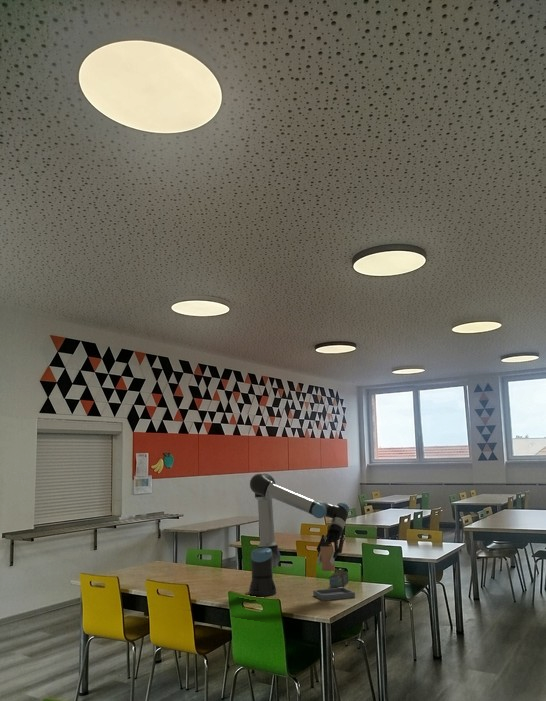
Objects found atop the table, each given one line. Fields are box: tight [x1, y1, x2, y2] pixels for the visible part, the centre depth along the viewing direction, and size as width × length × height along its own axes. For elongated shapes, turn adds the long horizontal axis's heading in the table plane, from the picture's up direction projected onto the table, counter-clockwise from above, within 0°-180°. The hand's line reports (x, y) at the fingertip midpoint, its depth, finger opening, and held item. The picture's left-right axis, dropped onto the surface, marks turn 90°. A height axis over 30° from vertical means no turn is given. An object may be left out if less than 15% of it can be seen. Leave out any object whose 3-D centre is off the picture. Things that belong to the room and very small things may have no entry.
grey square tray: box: [312, 587, 356, 601], centre depth 295 cm, size 15×18×2 cm
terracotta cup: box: [320, 544, 336, 572], centre depth 298 cm, size 7×7×12 cm
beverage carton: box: [329, 570, 350, 588], centre depth 327 cm, size 8×19×7 cm, turn 163°
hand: (324, 562), depth 295 cm, fingers closed on terracotta cup, 7 cm apart
